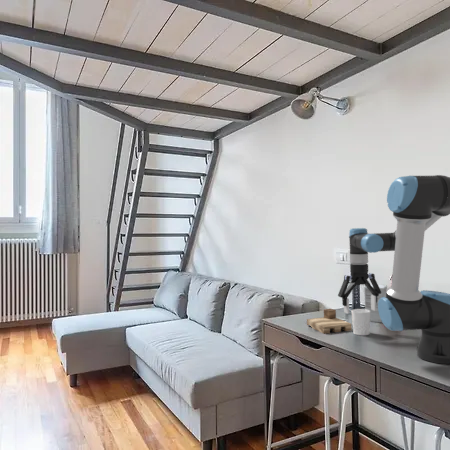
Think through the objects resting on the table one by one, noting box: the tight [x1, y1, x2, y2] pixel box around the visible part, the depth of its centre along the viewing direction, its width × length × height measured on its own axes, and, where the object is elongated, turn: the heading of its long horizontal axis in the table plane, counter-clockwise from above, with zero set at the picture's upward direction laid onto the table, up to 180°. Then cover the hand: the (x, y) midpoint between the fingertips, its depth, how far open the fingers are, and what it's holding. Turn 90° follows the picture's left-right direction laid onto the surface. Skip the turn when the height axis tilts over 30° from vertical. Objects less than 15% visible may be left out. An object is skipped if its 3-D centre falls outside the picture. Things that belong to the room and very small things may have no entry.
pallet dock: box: [306, 316, 353, 335], centre depth 190 cm, size 16×14×3 cm
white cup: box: [350, 308, 371, 336], centre depth 179 cm, size 8×8×10 cm
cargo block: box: [323, 308, 337, 319], centre depth 197 cm, size 4×4×4 cm
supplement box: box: [363, 283, 388, 324], centre depth 202 cm, size 10×9×17 cm
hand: (360, 311), depth 179 cm, fingers open, 13 cm apart
